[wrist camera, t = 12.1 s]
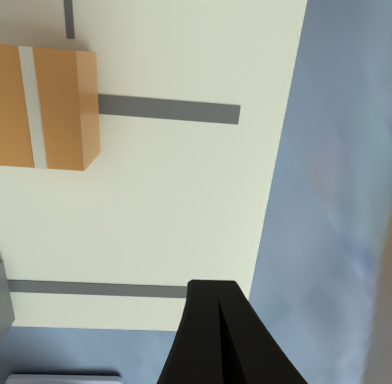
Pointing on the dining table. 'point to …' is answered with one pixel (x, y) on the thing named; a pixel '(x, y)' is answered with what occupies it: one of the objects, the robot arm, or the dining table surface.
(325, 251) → the dining table surface
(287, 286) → the dining table surface
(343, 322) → the dining table surface
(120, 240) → the board
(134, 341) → the dining table surface
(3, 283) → the block
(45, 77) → the fader orange
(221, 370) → the robot arm
